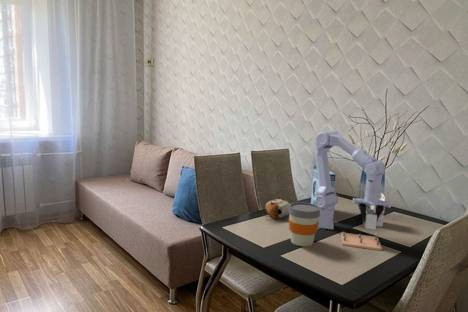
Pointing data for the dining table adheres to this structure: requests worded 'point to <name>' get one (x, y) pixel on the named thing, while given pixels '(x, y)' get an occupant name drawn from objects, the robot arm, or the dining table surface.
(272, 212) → the nautilus
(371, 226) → the drive
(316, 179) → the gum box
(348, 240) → the wooden peg board
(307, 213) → the reusable coffee cup
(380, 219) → the ink cartridge box
